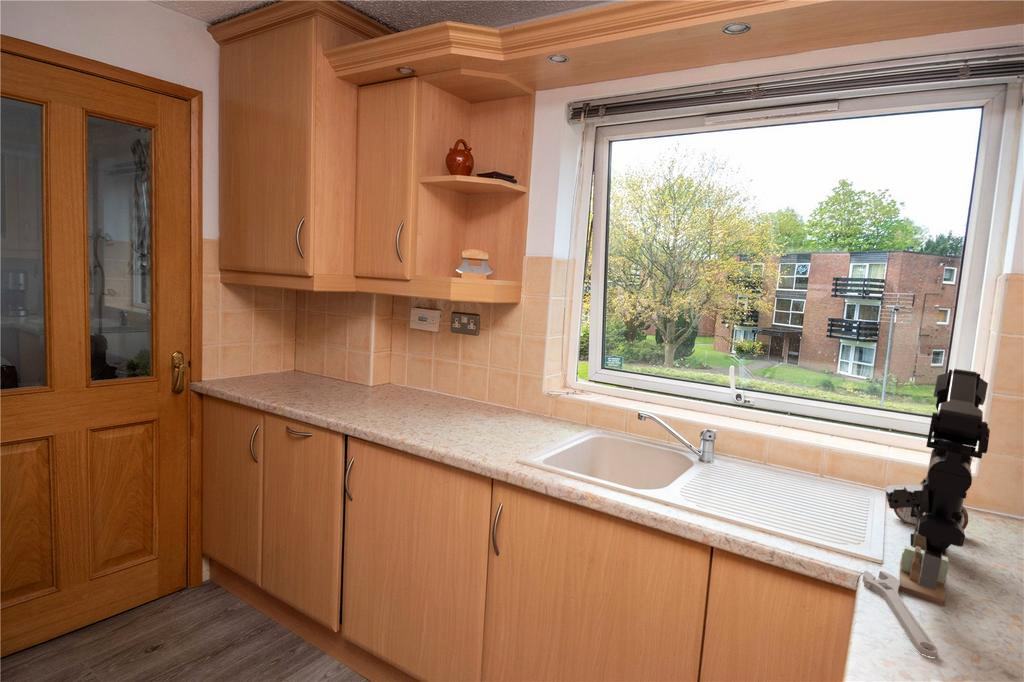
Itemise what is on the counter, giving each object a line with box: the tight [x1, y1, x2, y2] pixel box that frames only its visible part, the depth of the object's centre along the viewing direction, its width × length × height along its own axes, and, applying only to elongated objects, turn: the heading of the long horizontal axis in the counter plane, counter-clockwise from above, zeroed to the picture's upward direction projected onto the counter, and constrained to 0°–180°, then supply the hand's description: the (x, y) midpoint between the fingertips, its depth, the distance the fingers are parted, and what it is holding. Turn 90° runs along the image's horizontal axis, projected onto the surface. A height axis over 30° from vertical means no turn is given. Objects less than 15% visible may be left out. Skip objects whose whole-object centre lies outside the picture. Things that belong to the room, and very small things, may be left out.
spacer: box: [900, 544, 950, 584], centre depth 114 cm, size 2×7×5 cm, turn 55°
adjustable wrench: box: [861, 570, 939, 657], centre depth 103 cm, size 25×6×2 cm, turn 161°
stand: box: [898, 532, 947, 607], centre depth 113 cm, size 14×7×8 cm, turn 145°
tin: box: [893, 505, 969, 530], centre depth 140 cm, size 15×3×8 cm, turn 56°
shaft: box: [919, 550, 943, 590], centre depth 106 cm, size 11×2×6 cm, turn 145°
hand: (930, 560), depth 104 cm, fingers closed
